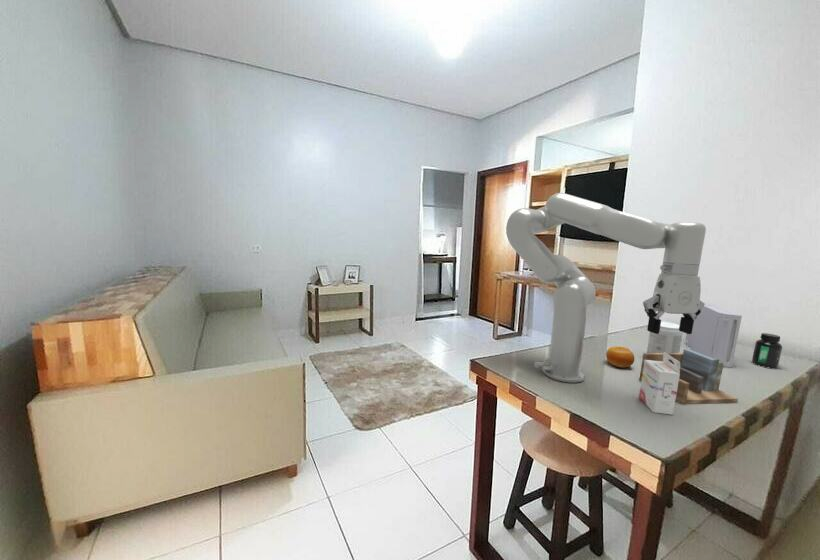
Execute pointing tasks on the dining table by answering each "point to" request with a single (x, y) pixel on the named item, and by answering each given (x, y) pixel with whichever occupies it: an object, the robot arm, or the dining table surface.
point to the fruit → (620, 356)
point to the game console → (715, 333)
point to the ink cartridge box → (660, 384)
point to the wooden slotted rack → (696, 377)
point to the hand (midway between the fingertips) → (669, 332)
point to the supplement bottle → (767, 351)
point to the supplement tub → (665, 339)
